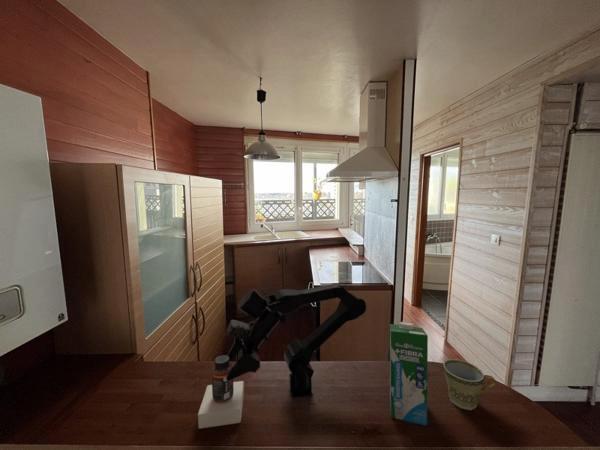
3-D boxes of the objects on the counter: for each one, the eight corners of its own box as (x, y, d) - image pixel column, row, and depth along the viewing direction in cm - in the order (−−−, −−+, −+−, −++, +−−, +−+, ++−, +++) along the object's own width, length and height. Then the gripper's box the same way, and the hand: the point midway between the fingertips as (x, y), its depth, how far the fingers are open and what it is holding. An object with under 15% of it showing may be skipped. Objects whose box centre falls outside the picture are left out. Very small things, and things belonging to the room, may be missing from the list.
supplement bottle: (233, 401, 69) (232, 363, 68) (211, 406, 67) (209, 367, 67) (234, 387, 74) (233, 351, 74) (213, 390, 73) (212, 354, 72)
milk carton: (422, 400, 72) (422, 320, 71) (427, 426, 64) (427, 335, 62) (390, 393, 75) (389, 316, 74) (390, 417, 67) (390, 330, 65)
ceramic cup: (446, 410, 69) (447, 376, 68) (440, 385, 78) (440, 356, 78) (502, 422, 64) (503, 387, 64) (488, 395, 74) (488, 364, 73)
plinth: (243, 392, 77) (243, 380, 77) (240, 422, 66) (239, 408, 66) (208, 397, 76) (207, 385, 75) (198, 428, 65) (197, 414, 65)
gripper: (240, 300, 80) (207, 338, 78) (245, 325, 62) (202, 376, 60) (265, 319, 83) (233, 356, 80) (276, 348, 65) (236, 397, 63)
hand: (227, 369), depth 71 cm, fingers open, 9 cm apart
